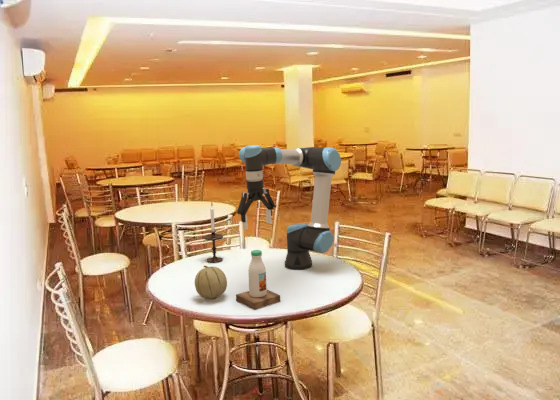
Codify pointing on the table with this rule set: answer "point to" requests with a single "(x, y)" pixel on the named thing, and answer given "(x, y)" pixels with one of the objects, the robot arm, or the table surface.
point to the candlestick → (213, 239)
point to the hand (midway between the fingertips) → (257, 226)
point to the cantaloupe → (210, 282)
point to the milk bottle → (257, 275)
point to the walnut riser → (257, 299)
